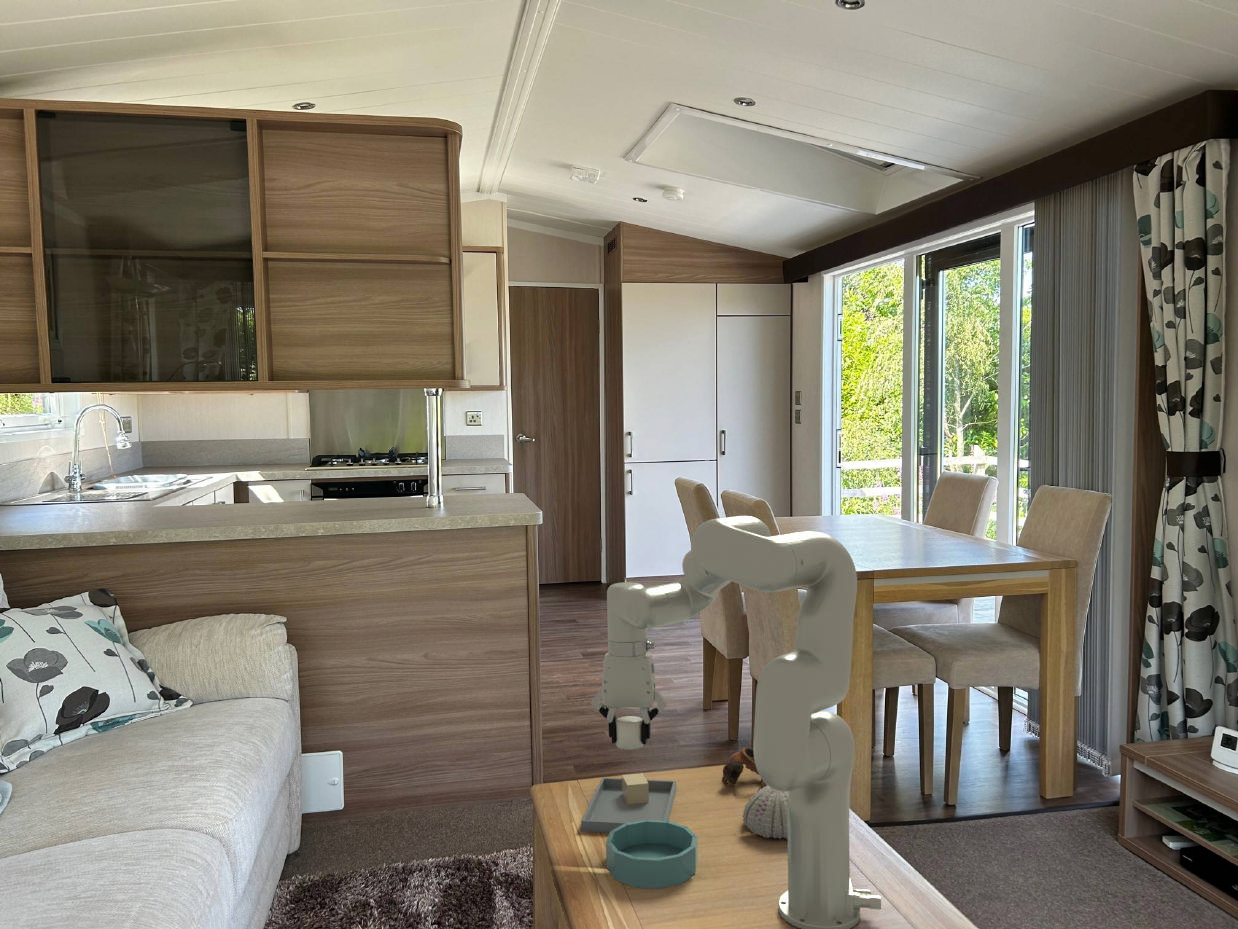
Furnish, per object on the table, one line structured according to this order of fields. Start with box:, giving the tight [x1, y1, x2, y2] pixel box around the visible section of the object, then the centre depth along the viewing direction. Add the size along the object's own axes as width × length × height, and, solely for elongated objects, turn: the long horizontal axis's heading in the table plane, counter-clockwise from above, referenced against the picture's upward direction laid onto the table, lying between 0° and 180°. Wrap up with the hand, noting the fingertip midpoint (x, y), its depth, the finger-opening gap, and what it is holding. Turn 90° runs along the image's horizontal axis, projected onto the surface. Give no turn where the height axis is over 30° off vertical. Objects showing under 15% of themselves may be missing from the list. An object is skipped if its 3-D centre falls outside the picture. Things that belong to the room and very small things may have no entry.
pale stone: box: [615, 715, 644, 751], centre depth 174 cm, size 5×5×5 cm
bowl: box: [605, 820, 699, 890], centre depth 158 cm, size 16×16×5 cm
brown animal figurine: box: [721, 747, 767, 788], centre depth 195 cm, size 12×10×8 cm
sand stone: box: [621, 772, 649, 805], centre depth 187 cm, size 4×6×4 cm
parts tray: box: [580, 777, 678, 833], centre depth 181 cm, size 16×22×2 cm
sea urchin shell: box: [742, 785, 789, 840], centre depth 173 cm, size 13×14×8 cm
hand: (629, 740), depth 174 cm, fingers closed on pale stone, 5 cm apart
